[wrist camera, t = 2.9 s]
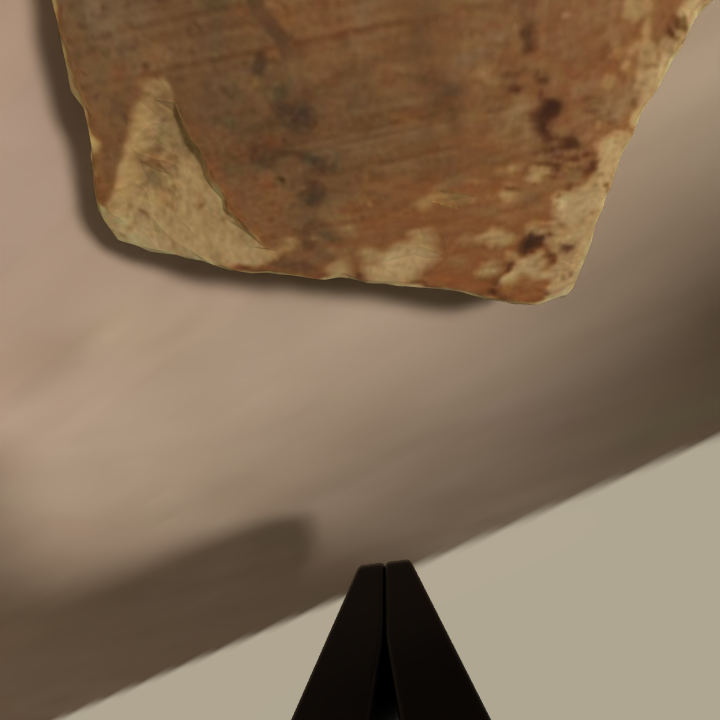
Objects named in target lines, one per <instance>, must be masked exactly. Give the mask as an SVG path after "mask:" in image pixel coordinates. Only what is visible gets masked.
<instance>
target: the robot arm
mask: <svg viewBox="0 0 720 720" xmlns="http://www.w3.org/2000/svg"><path fill="white" fill-rule="evenodd" d="M292 720H491V719H490V717H489V715H488V713H487V711H486V709H485V707H484V705H483V703H482V701H481V699H480V697H479V695H478V693H477V691H476V689H475V687H474V685H473V683H472V681H471V679H470V677H469V675H468V673H467V671H466V669H465V667H464V665H463V663H462V661H461V659H460V657H459V655H458V654H457V651H456V649H455V648H454V645H453V644H452V642H451V640H450V638H449V636H448V634H447V632H446V630H445V628H444V626H443V624H442V622H441V620H440V618H439V616H438V614H437V612H436V610H435V608H434V606H433V604H432V602H431V600H430V598H429V596H428V594H427V592H426V590H425V589H424V586H423V584H422V582H421V580H420V578H419V576H418V574H417V572H416V570H415V568H414V566H413V564H412V563H411V562H410V561H409V560H399V561H391V562H388V563H387V564H386V566H385V565H384V564H383V563H375V564H367V565H362V566H360V567H359V568H358V570H357V572H356V574H355V576H354V579H353V581H352V583H351V586H350V588H349V590H348V592H347V595H346V597H345V599H344V601H343V604H342V606H341V608H340V611H339V613H338V615H337V617H336V620H335V622H334V624H333V626H332V629H331V631H330V633H329V635H328V638H327V640H326V642H325V645H324V647H323V649H322V652H321V654H320V656H319V658H318V661H317V663H316V665H315V667H314V669H313V672H312V674H311V676H310V678H309V681H308V683H307V685H306V688H305V690H304V692H303V694H302V697H301V699H300V701H299V703H298V706H297V708H296V710H295V712H294V715H293V717H292Z"/></svg>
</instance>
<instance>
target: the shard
mask: <svg viewBox="0 0 720 720" xmlns="http://www.w3.org/2000/svg"><path fill="white" fill-rule="evenodd" d="M712 1H713V0H52V3H53V7H54V11H55V15H56V20H57V24H58V29H59V33H60V38H61V43H62V48H63V53H64V57H65V62H66V67H67V72H68V78H69V85H70V91H71V92H72V93H73V95H74V96H75V97H76V99H77V100H78V101H79V103H80V104H81V105H82V107H83V108H84V112H85V116H86V121H87V125H88V130H89V136H90V141H91V147H92V150H91V162H92V167H93V183H94V191H95V196H96V201H97V206H98V211H99V212H100V214H101V216H102V218H103V219H104V221H105V222H106V224H107V225H108V226H109V228H110V229H111V230H112V232H113V233H114V235H115V236H116V238H117V239H118V240H119V241H122V242H124V243H129V244H134V245H137V246H139V247H141V248H143V249H145V250H147V251H151V252H157V253H163V254H175V255H178V256H181V257H184V258H187V259H194V260H201V261H204V262H207V263H209V264H212V265H215V266H218V267H220V268H224V269H227V270H233V271H240V272H246V273H274V274H284V275H294V276H300V277H307V278H313V279H323V280H326V279H331V278H337V277H344V278H351V279H354V280H358V281H362V282H365V283H385V284H390V285H395V286H410V287H422V288H437V289H445V290H453V291H460V292H464V293H467V294H470V295H473V296H476V297H480V298H483V299H490V300H496V301H502V302H508V303H511V304H528V305H539V304H541V303H544V302H546V301H549V300H551V299H554V298H561V297H564V296H566V295H567V294H568V293H569V292H570V291H571V290H572V289H573V288H574V285H575V282H576V280H577V277H578V274H579V272H580V270H581V268H582V265H583V263H584V260H585V258H586V255H587V253H588V250H589V248H590V245H591V241H592V238H593V234H594V226H595V224H596V222H597V220H598V218H599V216H600V214H601V212H602V210H603V207H604V203H605V199H606V195H607V193H608V191H609V190H610V188H611V185H612V182H613V179H614V176H615V173H616V169H617V166H618V163H619V160H620V157H621V155H622V153H623V151H624V149H625V147H626V145H627V144H628V142H629V140H630V138H631V137H632V135H633V132H634V130H635V127H636V125H637V122H638V120H639V117H640V115H641V113H642V111H643V110H644V108H645V107H646V105H647V103H648V102H649V100H650V98H651V97H652V96H653V94H654V93H655V91H656V90H657V89H658V87H659V86H660V84H661V82H662V80H663V78H664V76H665V74H666V72H667V70H668V68H669V66H670V64H671V62H672V60H673V58H674V57H675V55H676V54H677V53H678V51H679V50H680V48H681V47H682V45H683V42H684V40H685V38H686V36H687V34H688V32H689V30H690V28H691V26H692V25H693V23H694V21H695V19H696V17H697V16H698V15H699V14H700V13H701V12H702V11H703V10H704V9H705V8H706V7H707V6H708V5H709V4H710V3H711V2H712Z"/></svg>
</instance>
